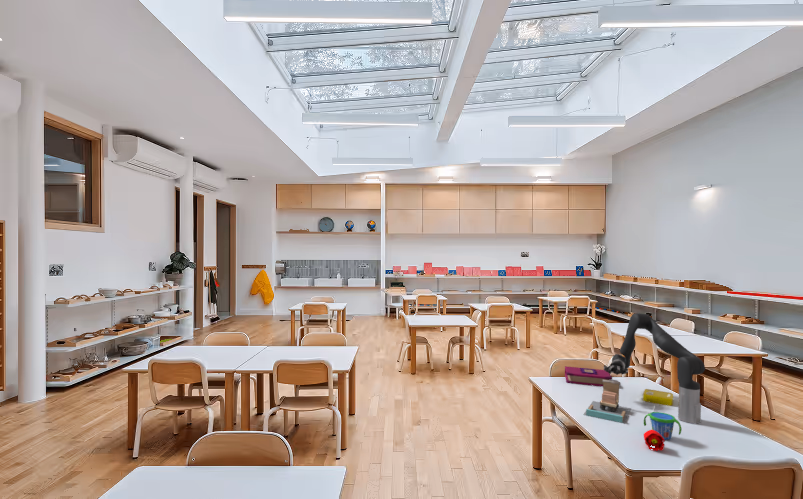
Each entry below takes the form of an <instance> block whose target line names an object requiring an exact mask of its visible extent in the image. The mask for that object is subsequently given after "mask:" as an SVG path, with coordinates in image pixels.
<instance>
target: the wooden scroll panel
mask: <svg viewBox="0 0 803 499" xmlns="http://www.w3.org/2000/svg"><path fill="white" fill-rule="evenodd" d="M602 382H603V387H602V393H601V400H600V401H599V402H600V409H602V410H604V409H605V408H606V406H610V407H611V411H612V412H616V411H617V408H618V407H619V406H620V405H619V400H620V385H621V382H620V381H616V380H615V381H613V380H610V379H609V380H602Z"/></svg>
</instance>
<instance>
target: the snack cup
mask: <svg viewBox="0 0 803 499" xmlns="http://www.w3.org/2000/svg"><path fill="white" fill-rule="evenodd" d="M647 417H649V420H650V422H651V423H650V425H651V430H655V431H657V432H658V433H659V434H660V435H661V436H662V437H663V438H664V440H671V439H672V435H673V431H674V426H675V423H676V424H677V426H678V436H679V435H681V433H682V431H683V430H682V425H681V423H680V421H679V420H678V419H676V418H675V416H674V415H672V414H669V413H665V412H660V411H653V412H650V413H647V414H645V416H644V419H643V426H644V427H645V426H647V421H646V420H647V419H646V418H647Z"/></svg>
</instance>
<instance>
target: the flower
mask: <svg viewBox="0 0 803 499" xmlns="http://www.w3.org/2000/svg"><path fill="white" fill-rule="evenodd" d="M643 438H644V443H645V445H646V446H647V448H648V450H650V451H655V450H656V451H655V452H657V451H661V452H662V451H663V450H664V449H665V446H666V445H665V440H664V438H663V437H662V436H661V435H660V434H659V433H658V432H657V431H655V430H652V429H650V430H647V431H645V432H644V433H643ZM651 445H652V446H655V448H652V447H650V446H651ZM651 449H653V450H651Z"/></svg>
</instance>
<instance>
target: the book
mask: <svg viewBox="0 0 803 499" xmlns="http://www.w3.org/2000/svg"><path fill="white" fill-rule="evenodd" d="M564 377H565V378H564V379H565V382H566V383H567V384H574V385H584V386H592V385H593V386H594V387H601V386H603V382H602V380H609V381H613V376H612V375H611V374H609V373H608V372H606V371H605V370H604V369H597V368H596V369H595V368H587V367H577V366H575V367H574V366H564Z"/></svg>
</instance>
